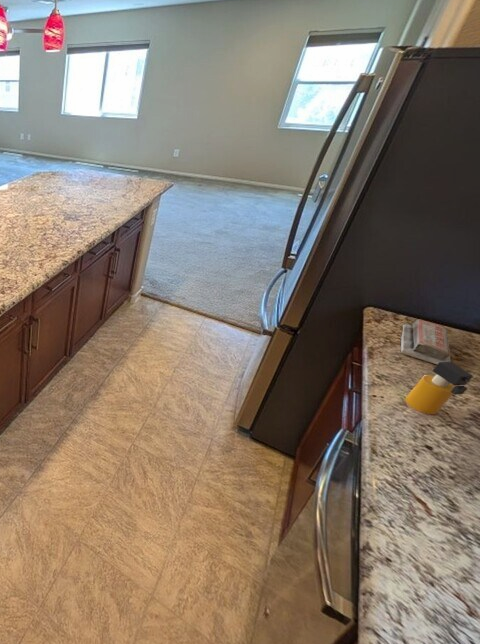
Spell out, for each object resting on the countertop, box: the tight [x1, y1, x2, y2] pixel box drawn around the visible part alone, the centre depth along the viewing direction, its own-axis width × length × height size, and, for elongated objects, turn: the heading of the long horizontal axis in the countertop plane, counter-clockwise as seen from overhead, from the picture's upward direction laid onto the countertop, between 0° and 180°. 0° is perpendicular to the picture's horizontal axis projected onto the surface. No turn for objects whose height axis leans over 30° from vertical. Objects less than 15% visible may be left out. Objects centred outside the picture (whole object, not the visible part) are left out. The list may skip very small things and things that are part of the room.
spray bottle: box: [405, 361, 474, 415], centre depth 94 cm, size 6×6×14 cm
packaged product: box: [400, 319, 452, 365], centre depth 115 cm, size 18×5×10 cm
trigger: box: [451, 385, 468, 395], centre depth 91 cm, size 1×2×2 cm, turn 92°
